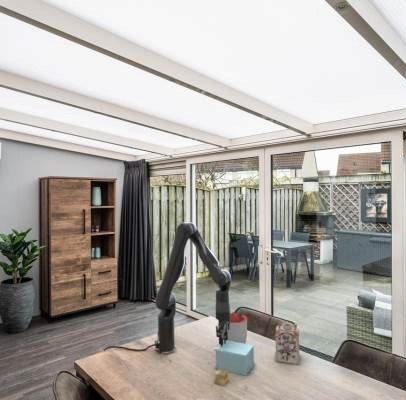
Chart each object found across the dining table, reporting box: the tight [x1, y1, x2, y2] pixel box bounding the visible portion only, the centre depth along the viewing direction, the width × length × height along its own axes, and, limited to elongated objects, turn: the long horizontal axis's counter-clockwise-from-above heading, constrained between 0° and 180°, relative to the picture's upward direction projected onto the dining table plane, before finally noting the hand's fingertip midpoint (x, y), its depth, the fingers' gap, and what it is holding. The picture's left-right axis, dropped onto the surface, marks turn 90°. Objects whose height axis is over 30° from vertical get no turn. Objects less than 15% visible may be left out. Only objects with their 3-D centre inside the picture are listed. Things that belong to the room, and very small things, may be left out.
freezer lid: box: [214, 334, 255, 357], centre depth 167 cm, size 16×13×5 cm
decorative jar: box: [274, 322, 300, 365], centre depth 174 cm, size 12×12×18 cm
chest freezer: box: [215, 346, 255, 376], centre depth 166 cm, size 16×13×9 cm
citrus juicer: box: [221, 311, 248, 344], centre depth 190 cm, size 16×17×20 cm
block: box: [214, 369, 229, 386], centre depth 152 cm, size 4×4×4 cm
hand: (223, 342), depth 169 cm, fingers closed on freezer lid, 5 cm apart
